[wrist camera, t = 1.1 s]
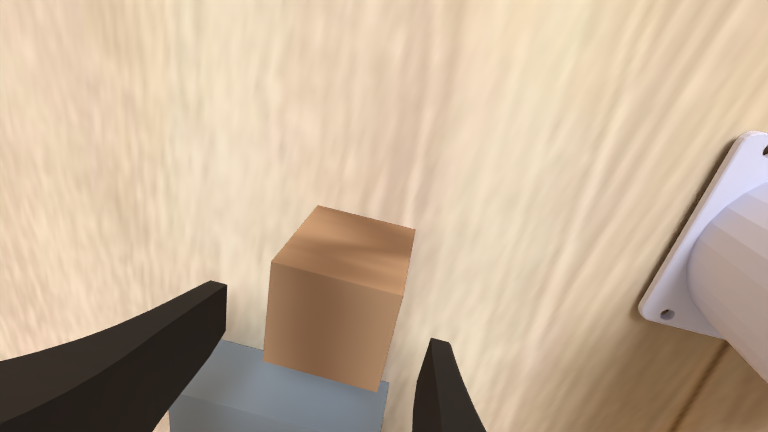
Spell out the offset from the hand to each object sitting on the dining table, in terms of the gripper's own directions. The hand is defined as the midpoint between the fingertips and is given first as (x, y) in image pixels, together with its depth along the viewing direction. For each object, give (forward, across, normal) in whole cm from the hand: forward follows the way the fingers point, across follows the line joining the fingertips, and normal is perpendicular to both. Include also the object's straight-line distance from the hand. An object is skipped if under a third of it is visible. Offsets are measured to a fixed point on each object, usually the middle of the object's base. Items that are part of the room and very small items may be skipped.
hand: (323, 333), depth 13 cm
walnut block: (+5, 0, 0) cm, 5 cm away
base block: (+6, +2, +12) cm, 13 cm away
